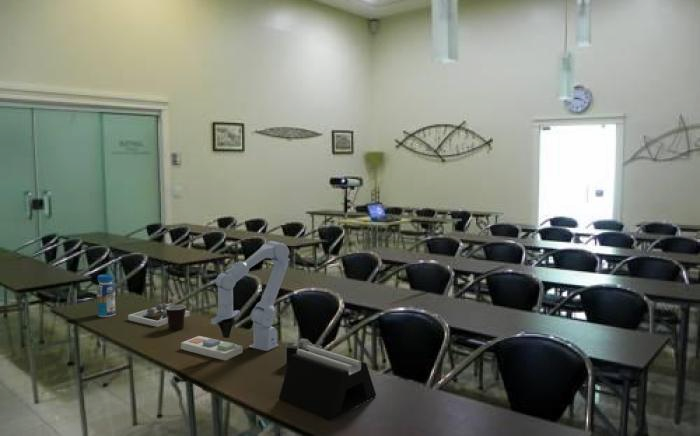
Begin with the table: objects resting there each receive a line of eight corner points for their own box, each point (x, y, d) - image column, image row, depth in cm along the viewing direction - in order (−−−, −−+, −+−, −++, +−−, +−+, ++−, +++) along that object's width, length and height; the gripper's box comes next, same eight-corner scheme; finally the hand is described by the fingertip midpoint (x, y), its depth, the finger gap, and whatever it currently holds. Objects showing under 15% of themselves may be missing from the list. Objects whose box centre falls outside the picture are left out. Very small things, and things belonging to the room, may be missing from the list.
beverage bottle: (97, 313, 273) (95, 274, 271) (115, 311, 276) (114, 272, 274) (97, 318, 265) (95, 277, 263) (116, 316, 269) (114, 276, 267)
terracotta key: (205, 344, 227) (205, 339, 227) (197, 347, 223) (197, 343, 223) (197, 342, 229) (197, 337, 229) (188, 345, 225) (188, 341, 225)
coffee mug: (182, 331, 246) (182, 310, 245) (163, 331, 246) (163, 309, 245) (190, 324, 257) (190, 303, 256) (172, 323, 258) (171, 303, 256)
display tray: (189, 316, 270) (189, 311, 270) (157, 326, 253) (156, 321, 253) (161, 310, 280) (161, 305, 280) (128, 320, 263) (128, 315, 262)
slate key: (220, 345, 223) (220, 340, 223) (211, 348, 219) (211, 343, 218) (211, 342, 225) (211, 338, 225) (202, 346, 221) (202, 341, 221)
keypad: (242, 352, 220) (242, 345, 220) (225, 360, 212) (225, 353, 212) (199, 342, 232) (199, 335, 232) (181, 349, 224) (181, 342, 224)
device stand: (325, 379, 195) (325, 338, 194) (375, 397, 181) (376, 353, 180) (278, 400, 178) (278, 356, 177) (330, 422, 164) (331, 374, 162)
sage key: (235, 348, 219) (235, 343, 219) (226, 352, 215) (226, 347, 214) (226, 346, 221) (226, 341, 221) (217, 350, 217) (217, 345, 217)
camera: (327, 364, 209) (327, 338, 208) (320, 370, 203) (320, 344, 202) (291, 359, 214) (291, 334, 213) (284, 365, 207) (284, 340, 206)
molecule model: (149, 332, 267) (152, 324, 258) (139, 317, 268) (141, 309, 260) (176, 317, 276) (180, 308, 268) (166, 302, 278) (169, 294, 269)
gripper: (230, 298, 224) (231, 330, 226) (204, 306, 212) (205, 340, 213) (243, 300, 221) (244, 333, 222) (218, 309, 208) (218, 343, 210)
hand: (226, 337), depth 217 cm, fingers closed
